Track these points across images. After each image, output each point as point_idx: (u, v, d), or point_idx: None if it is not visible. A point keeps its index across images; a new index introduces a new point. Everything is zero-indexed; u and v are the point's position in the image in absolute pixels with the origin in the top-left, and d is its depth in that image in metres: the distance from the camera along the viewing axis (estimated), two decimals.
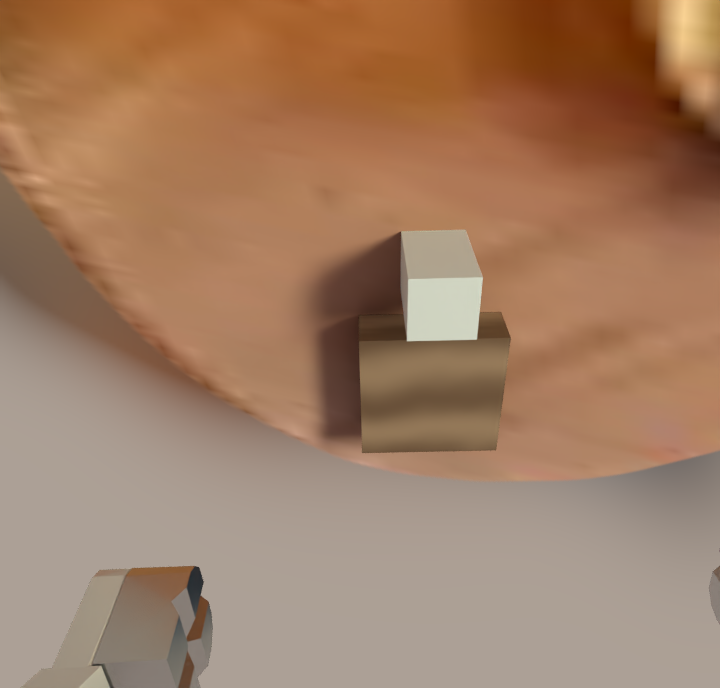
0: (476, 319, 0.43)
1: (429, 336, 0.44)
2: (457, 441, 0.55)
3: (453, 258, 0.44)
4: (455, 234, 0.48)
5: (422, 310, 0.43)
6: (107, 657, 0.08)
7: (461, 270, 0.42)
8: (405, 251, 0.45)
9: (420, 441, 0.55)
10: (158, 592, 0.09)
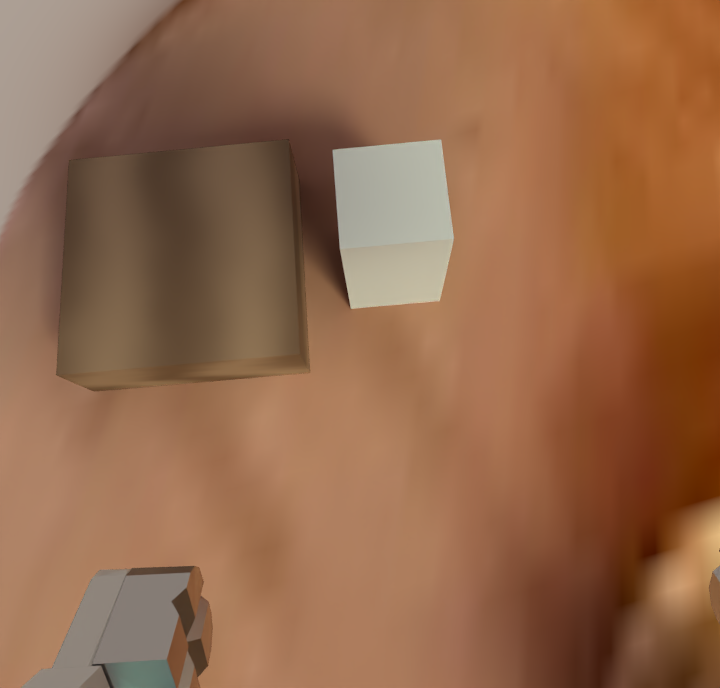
0: (378, 242, 0.27)
1: (342, 179, 0.28)
2: (82, 305, 0.31)
3: None
4: None
5: (388, 164, 0.28)
6: (107, 657, 0.08)
7: None
8: None
9: (87, 245, 0.32)
10: (158, 592, 0.09)
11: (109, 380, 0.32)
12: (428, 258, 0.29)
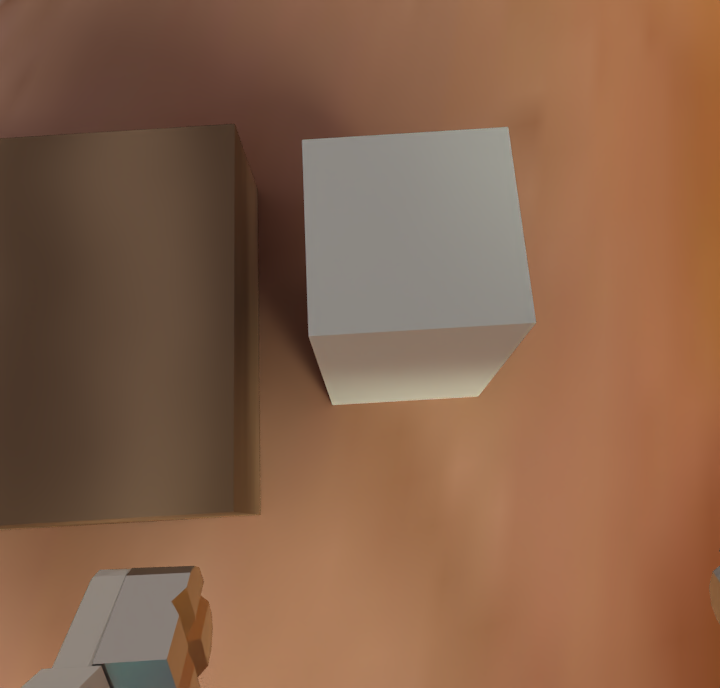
0: (385, 324, 0.14)
1: (319, 197, 0.15)
2: None
3: None
4: None
5: (408, 171, 0.15)
6: (107, 657, 0.08)
7: None
8: None
9: None
10: (158, 592, 0.09)
11: None
12: (477, 349, 0.15)
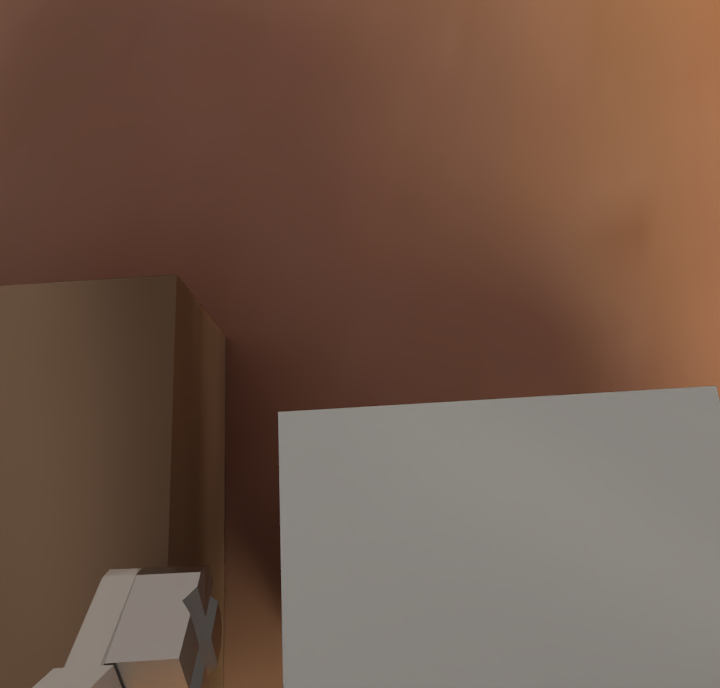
0: None
1: (314, 557, 0.07)
2: None
3: None
4: None
5: (506, 493, 0.07)
6: (119, 656, 0.08)
7: None
8: None
9: None
10: (169, 591, 0.09)
11: None
12: None
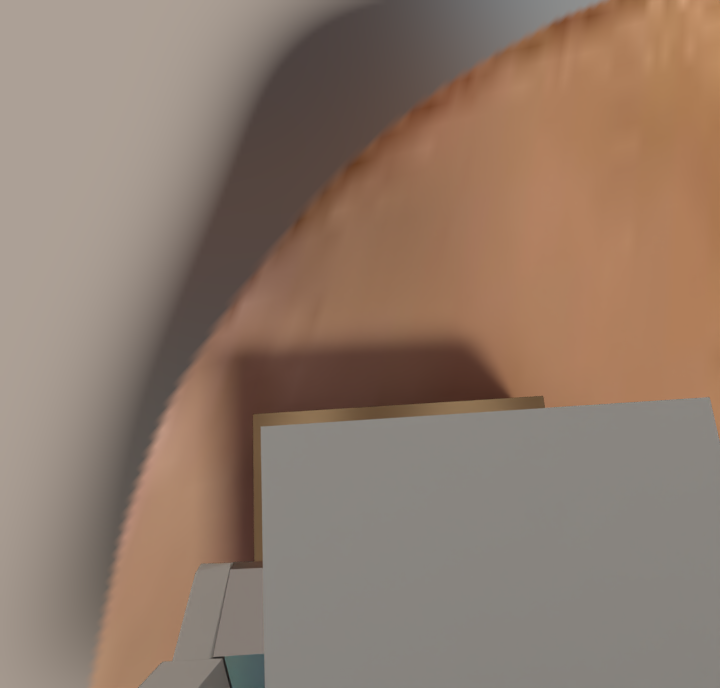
0: None
1: (297, 577, 0.06)
2: None
3: None
4: None
5: (496, 509, 0.07)
6: (226, 650, 0.08)
7: None
8: None
9: None
10: None
11: None
12: None
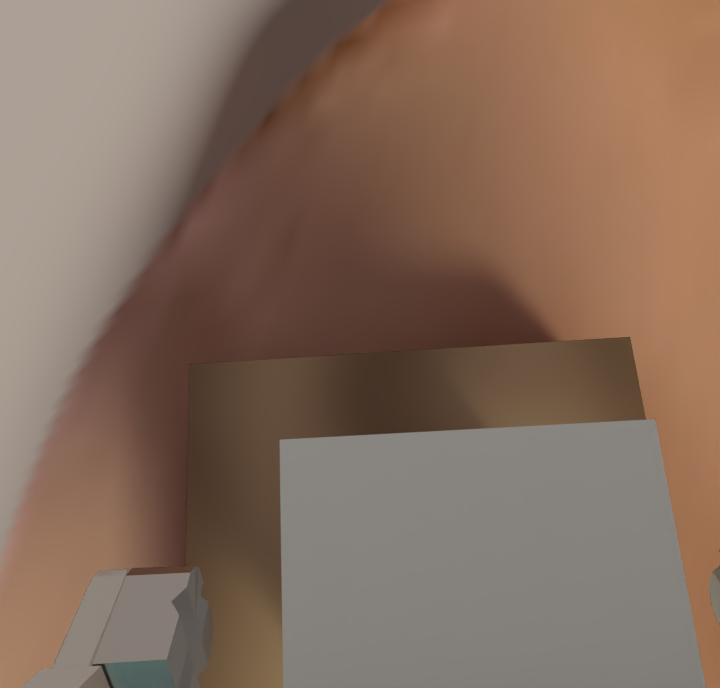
0: None
1: (309, 564, 0.08)
2: None
3: None
4: None
5: (474, 510, 0.08)
6: (107, 657, 0.08)
7: None
8: None
9: (235, 563, 0.15)
10: (158, 592, 0.09)
11: None
12: None
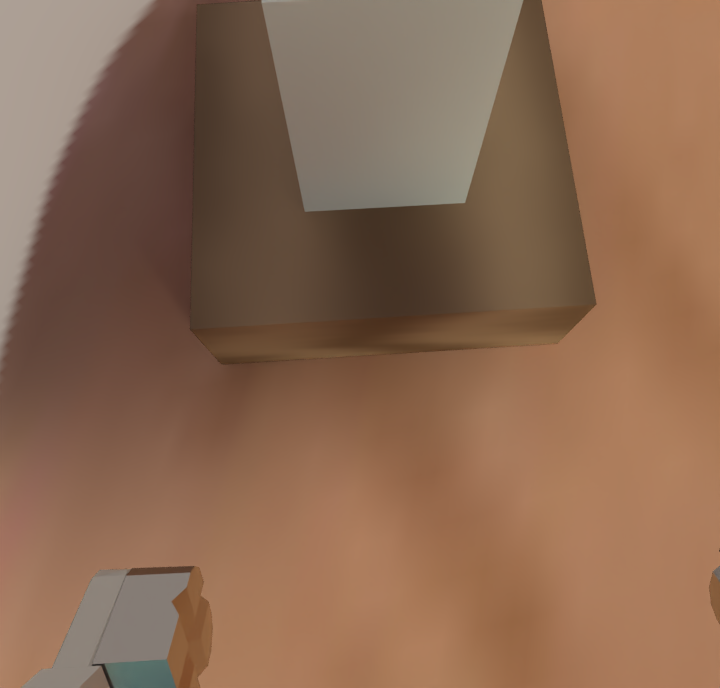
0: None
1: None
2: (229, 219, 0.19)
3: None
4: None
5: None
6: (107, 657, 0.08)
7: None
8: None
9: (232, 129, 0.20)
10: (158, 592, 0.09)
11: (261, 344, 0.20)
12: (460, 64, 0.14)
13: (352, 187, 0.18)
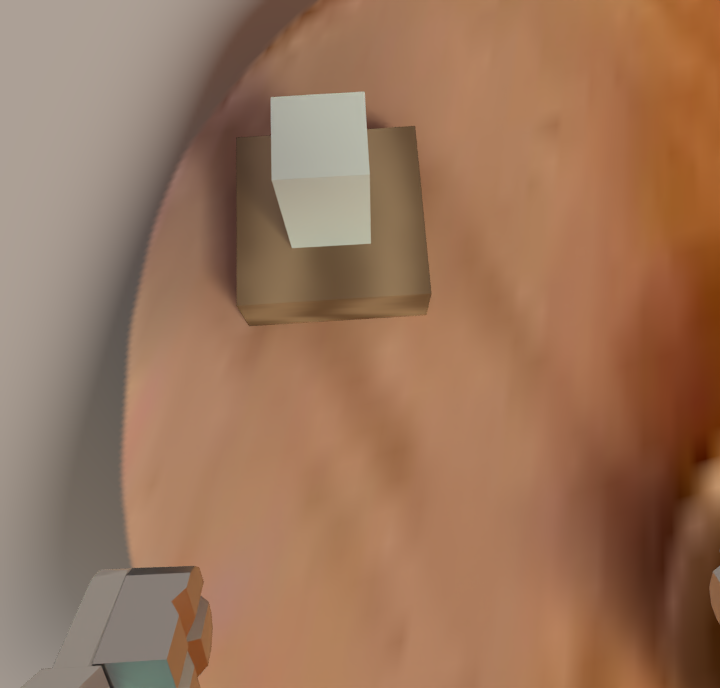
0: (304, 175, 0.32)
1: (277, 122, 0.33)
2: (254, 252, 0.39)
3: None
4: None
5: (317, 111, 0.33)
6: (107, 657, 0.08)
7: None
8: None
9: (255, 205, 0.40)
10: (158, 592, 0.09)
11: (270, 314, 0.40)
12: (351, 194, 0.33)
13: (314, 237, 0.38)
